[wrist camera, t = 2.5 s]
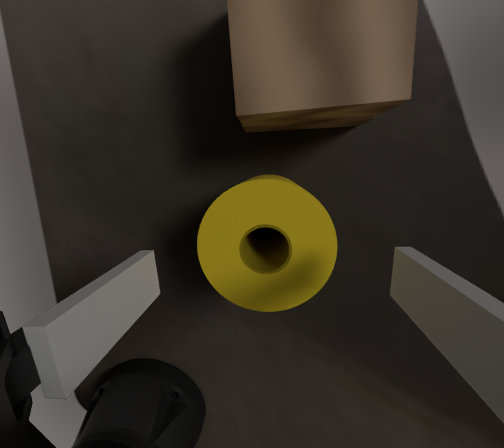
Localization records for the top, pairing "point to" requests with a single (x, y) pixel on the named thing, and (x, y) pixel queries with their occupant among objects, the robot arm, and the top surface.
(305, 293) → the yellow toilet paper roll
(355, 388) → the top surface
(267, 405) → the top surface
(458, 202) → the top surface
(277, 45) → the tower block top
